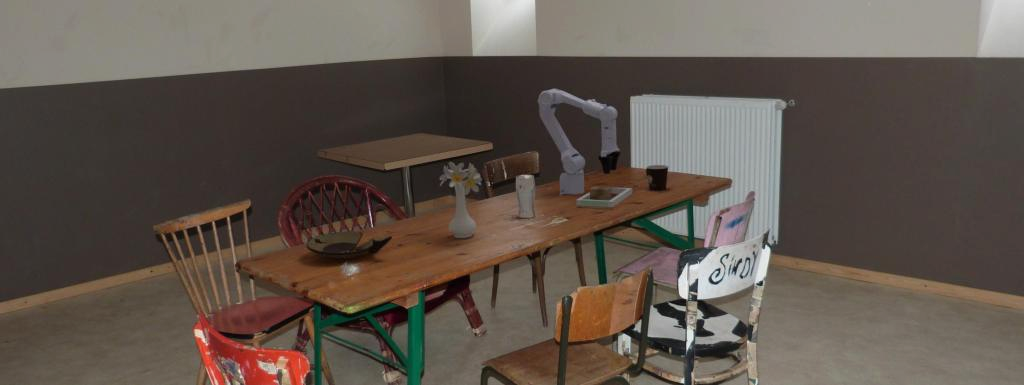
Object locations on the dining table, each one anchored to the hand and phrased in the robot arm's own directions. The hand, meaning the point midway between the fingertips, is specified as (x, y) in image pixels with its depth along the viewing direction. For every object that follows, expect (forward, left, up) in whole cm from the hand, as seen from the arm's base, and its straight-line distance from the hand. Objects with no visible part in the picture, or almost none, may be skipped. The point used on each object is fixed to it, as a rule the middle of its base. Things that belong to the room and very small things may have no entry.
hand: (610, 171), depth 335 cm
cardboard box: (+1, -15, -9) cm, 17 cm away
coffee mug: (+15, +14, -10) cm, 23 cm away
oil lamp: (-53, -102, -10) cm, 115 cm away
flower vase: (-28, -70, -10) cm, 76 cm away
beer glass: (-19, -39, -10) cm, 45 cm away
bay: (+1, -10, -10) cm, 14 cm away
